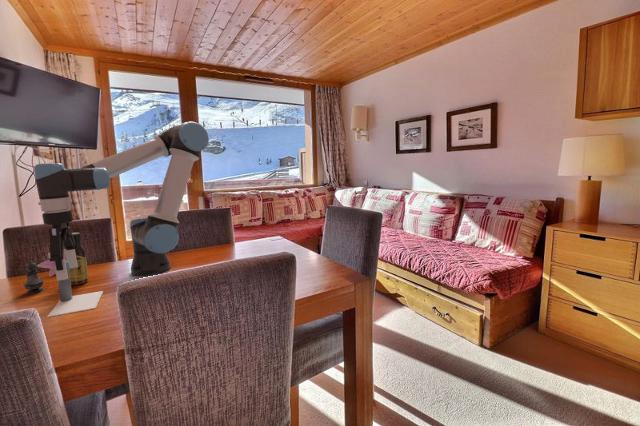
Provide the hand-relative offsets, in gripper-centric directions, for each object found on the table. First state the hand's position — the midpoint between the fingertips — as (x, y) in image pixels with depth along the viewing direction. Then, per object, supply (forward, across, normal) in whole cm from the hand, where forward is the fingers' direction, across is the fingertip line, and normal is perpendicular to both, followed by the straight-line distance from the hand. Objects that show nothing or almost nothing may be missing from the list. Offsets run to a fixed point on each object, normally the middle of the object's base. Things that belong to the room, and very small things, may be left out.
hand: (68, 273), depth 108 cm
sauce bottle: (+10, -19, -2) cm, 21 cm away
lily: (+10, -39, -12) cm, 42 cm away
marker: (+9, 0, -2) cm, 9 cm away
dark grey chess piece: (+9, -17, -15) cm, 24 cm away
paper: (+9, +5, +2) cm, 11 cm away
